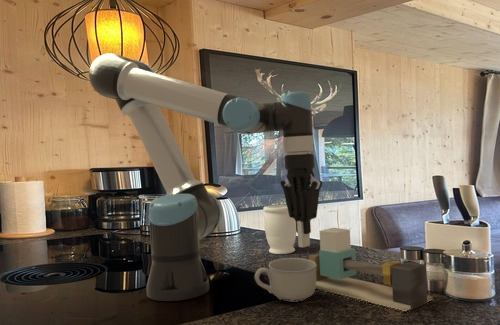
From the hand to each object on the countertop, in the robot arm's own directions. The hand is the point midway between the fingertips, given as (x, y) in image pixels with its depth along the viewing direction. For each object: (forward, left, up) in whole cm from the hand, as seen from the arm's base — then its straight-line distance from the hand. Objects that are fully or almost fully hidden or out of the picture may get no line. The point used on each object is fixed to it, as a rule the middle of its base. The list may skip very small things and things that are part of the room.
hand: (304, 246), depth 119 cm
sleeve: (0, -11, -6) cm, 12 cm away
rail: (0, -18, -9) cm, 20 cm away
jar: (+18, +29, -9) cm, 35 cm away
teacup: (-14, -8, -9) cm, 18 cm away
